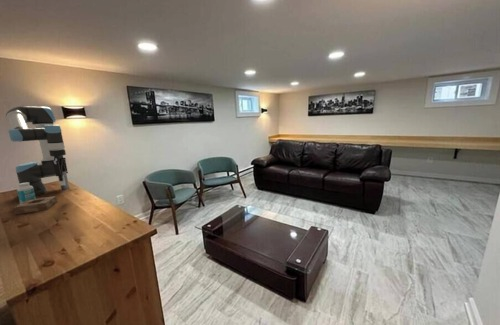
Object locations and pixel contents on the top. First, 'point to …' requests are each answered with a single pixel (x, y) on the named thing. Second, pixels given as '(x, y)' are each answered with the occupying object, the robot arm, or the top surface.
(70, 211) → the top surface
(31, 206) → the socket block
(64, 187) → the peg
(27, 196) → the pill bottle
